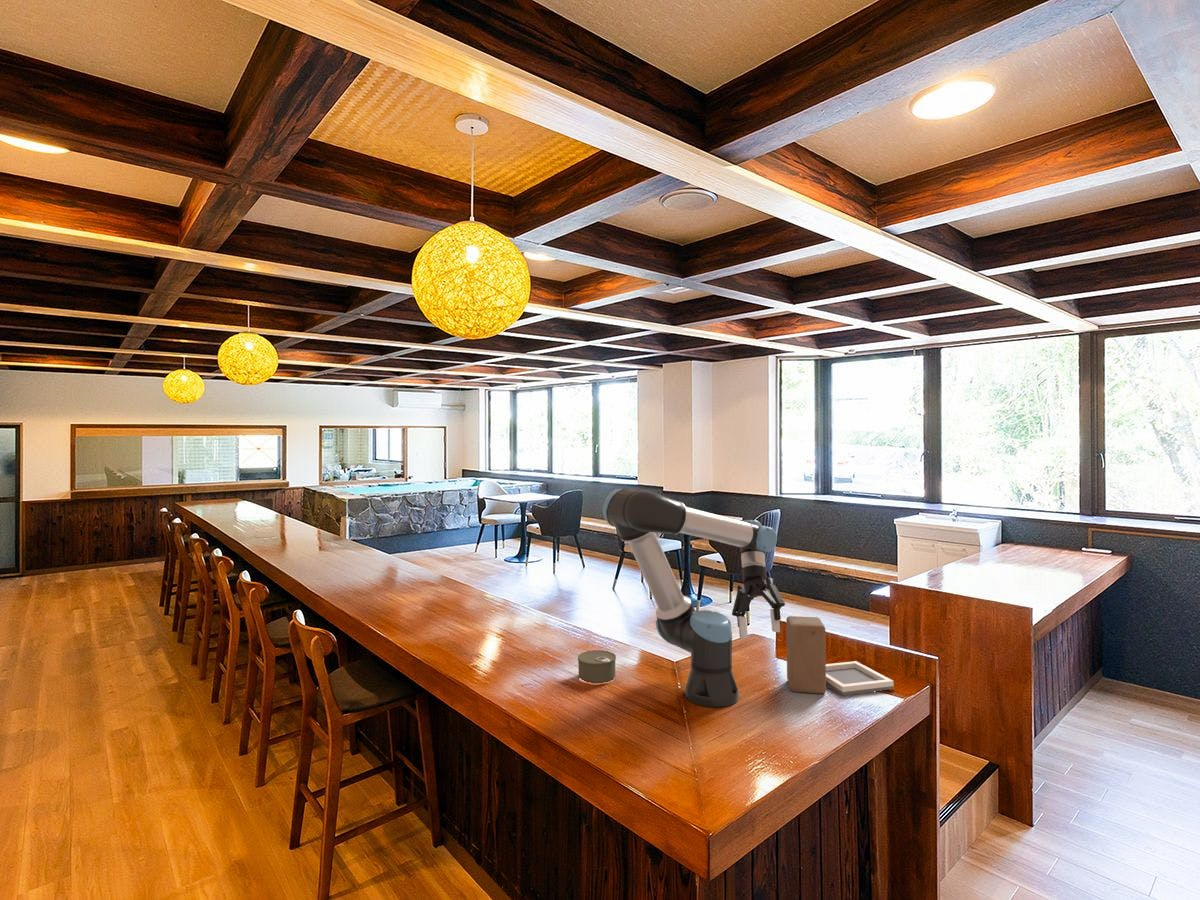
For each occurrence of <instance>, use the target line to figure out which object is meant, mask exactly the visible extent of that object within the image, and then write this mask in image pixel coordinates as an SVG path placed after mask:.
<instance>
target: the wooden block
mask: <svg viewBox="0 0 1200 900" xmlns="http://www.w3.org/2000/svg"><path fill="white" fill-rule="evenodd" d="M785 622H786V625H785V626H786V679H787V683H788V685H789V689H790V691H791V692H794V693H806V692H807V693H809V694H825V693H826V691H827V686H826V664H827V658H826V656H827V654H826V653H827V651H826V650H827V648H826V646H827V645H826V626H825V625H824V623H823V622H822V619H821V618H819V617H815V616H796V615H795V616H793V615H789V616H787V617H786V621H785Z"/></svg>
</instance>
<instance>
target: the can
mask: <svg viewBox="0 0 1200 900" xmlns="http://www.w3.org/2000/svg"><path fill="white" fill-rule="evenodd" d="M616 660H617V656H616V654H615V653H614V652H611V651H608V650H602V649H601V650H600V649H599V650H598V649H596V650H588V651H584V652H581V653H580V654H579V655H578V656H577V661H578V664H577V665H578V679H579V678H581V679H582V680H584V681H586V682H591V683H603V682H608V681H611V680H613V679H614V677H615V678H616Z"/></svg>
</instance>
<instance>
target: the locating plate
mask: <svg viewBox="0 0 1200 900" xmlns="http://www.w3.org/2000/svg"><path fill="white" fill-rule="evenodd" d="M826 685H827V686H826V687H828V686H829V687H830V688H829V687H828V688H829V689H831V690H832V689H833V691H834V692H836V693H837V694H839V695H840V696H842V697H846V696H847V695H849V696H855V695H854V694H857V695H862V694H861V693H865V694H869V693H868V692H874V691H880V690H889V689H895V688H894V680H893V679H891V678H889V677H887V676H885V675H883V674H881V673H879V672H877V671H875V670H873V669H872V668H870V667H868V666H866V665H864V664H862V663H860V662H859V661H857V660H854V661H844V662H836V663H826ZM874 693H875V692H874ZM847 697H848V696H847Z"/></svg>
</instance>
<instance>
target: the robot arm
mask: <svg viewBox="0 0 1200 900" xmlns="http://www.w3.org/2000/svg"><path fill="white" fill-rule="evenodd" d="M602 514H603V518H604V519H605V521H606V523H608V525H610V526H611V527H615V530H616V532H617V534H618V536H619V539H620V540H621V541H622V542H625V543H628V545H629V548H630V549H631V553H632V554H633V556H634V559H635V561H636V562H637V564H638V567H639V569H640V572H641V573H642V576H643V578H644V580H645V583H646V584H647V587H648V589H649V591H650V593H651V596H652V597H653V599H654V602H655V604H656V606H657V608H656V610H655V616H656V621H655V628H656V631H657V633H658V634H659V636H660V637H661V638H662V639H663V640H664V641H665V642H667V643H668V644H670V645H673V646H675V647H677V648H680V649H681V650H684V651H686V652H688V653H690V670H689V674H688V677H687V681H686V684H685V688H684V691H685V695H686V696H685V697H687V698H688V699H689V700H688V699H687V698H686V699H687V700H688V701H689V702H692V703H693V704H695V705H699V706H702V705H703V707H708V706H709V707H708V708H723V707H728V706H731V705H734V704H736V703H737V702H738V701H739V688H738V686H737V683H736V679H735V676H734V672H733V665H732V664H733V630H732V622H731V620H730V619H729V618H728V617H727V615H725V614H723V613H720V612H718V611H712V610H709V609H707V610H706V609H704V610H696V608H695V605H694V604H693V602H692V600H691V598H690V597H689V596H687V595H684V594H683V593H682V590H681V587H680V585H679V583H678V581H677V578H676V577H675V574H674V572H673V570H672V568H671V567H672V566H671V565H670V563H669V561H668V558H667V557H666V554H665V552H664V550H663V547H662V545H661V543H660V541H659V538H658V537H657V534H656V533H658V534H668V535H672V536H675V535H678V534H683V535H689V536H693V537H699V538H701V539H702V538H703V539H706V540H711V541H715V542H718V543H720V544H726V545H729V546H734V547H737V548H739V549H740V556H741V558H740V559H741V567H742V569H741V572H742V580H743V581H744V584H743V585H737V587H736V588H737V589H736V596H735V600H734V605H733V608H732V612H731V615H732V616H733V617H736V619H737V620H736V621H737V627H738V631H739V638H740V639H746V640H747V639H748V625H747V624H748V623H747V617H746V616H745V615H746V613H747V610H748V609H749V606H750V605H751V602H752V601H753V600H754V599H755V598H757V597H761V596H762V597H763V598H764V600H765V601H766V603H768V604H769V605H770V609H769V611H770V621H771V622H770V623H771V632H775V633H781V625H780V621H781V617H782V616H781V608H782V607H785V605H786V603H785V601H784V599H783V597H782V595H781V594H780V592H779V590H778V588H777V586H776V583H775V579H774V578H772V577H771V578H770V577H768V576H767V575H768V574H767V568H766V557H765V552H766V553H767V552H771V551H772V550H774V549H775V547H776V546H777V542H778V535H777V532H776V530H775V529H774V528H773V527H770V526H766V525H762V523H761V521H758V520H757V519H754V520H753V519H746V520H745V519H744V520H739V519H735V518H732V517H728V516H724V515H720V514H715V513H711V512H708V511H704V510H701V509H696V508H693V507H689V506H686V505H685V504H684V503H683V502H682V501H679V500H676V499H672V498H669V497H667V496H663V495H662V494H659V493H656V492H653V491H650V490H641V489H632V488H628V487H624V488H617V489H614V490H613V491H611V492H610V493H609V494H608V495H607V496H606V498H605V500H604V503H603V506H602ZM767 588H768V589H767Z"/></svg>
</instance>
